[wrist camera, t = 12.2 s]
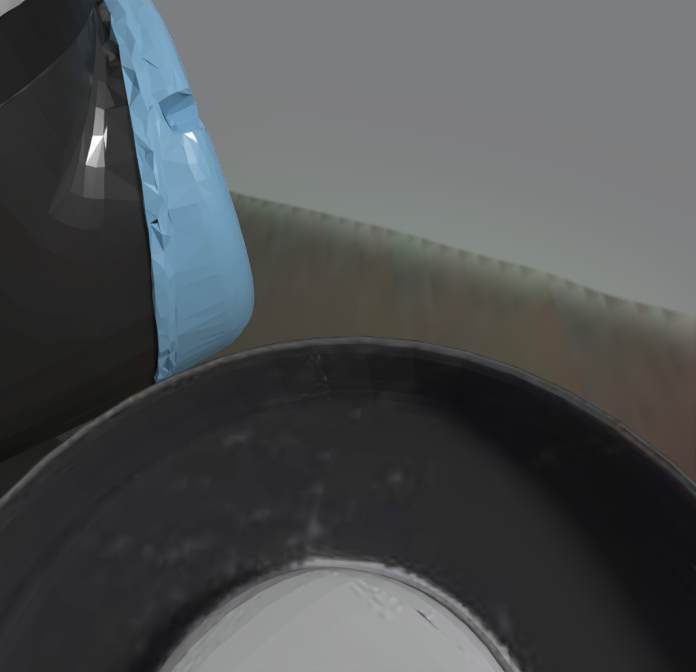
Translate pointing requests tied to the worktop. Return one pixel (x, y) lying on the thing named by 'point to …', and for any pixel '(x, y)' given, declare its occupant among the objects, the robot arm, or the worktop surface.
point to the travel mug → (350, 525)
